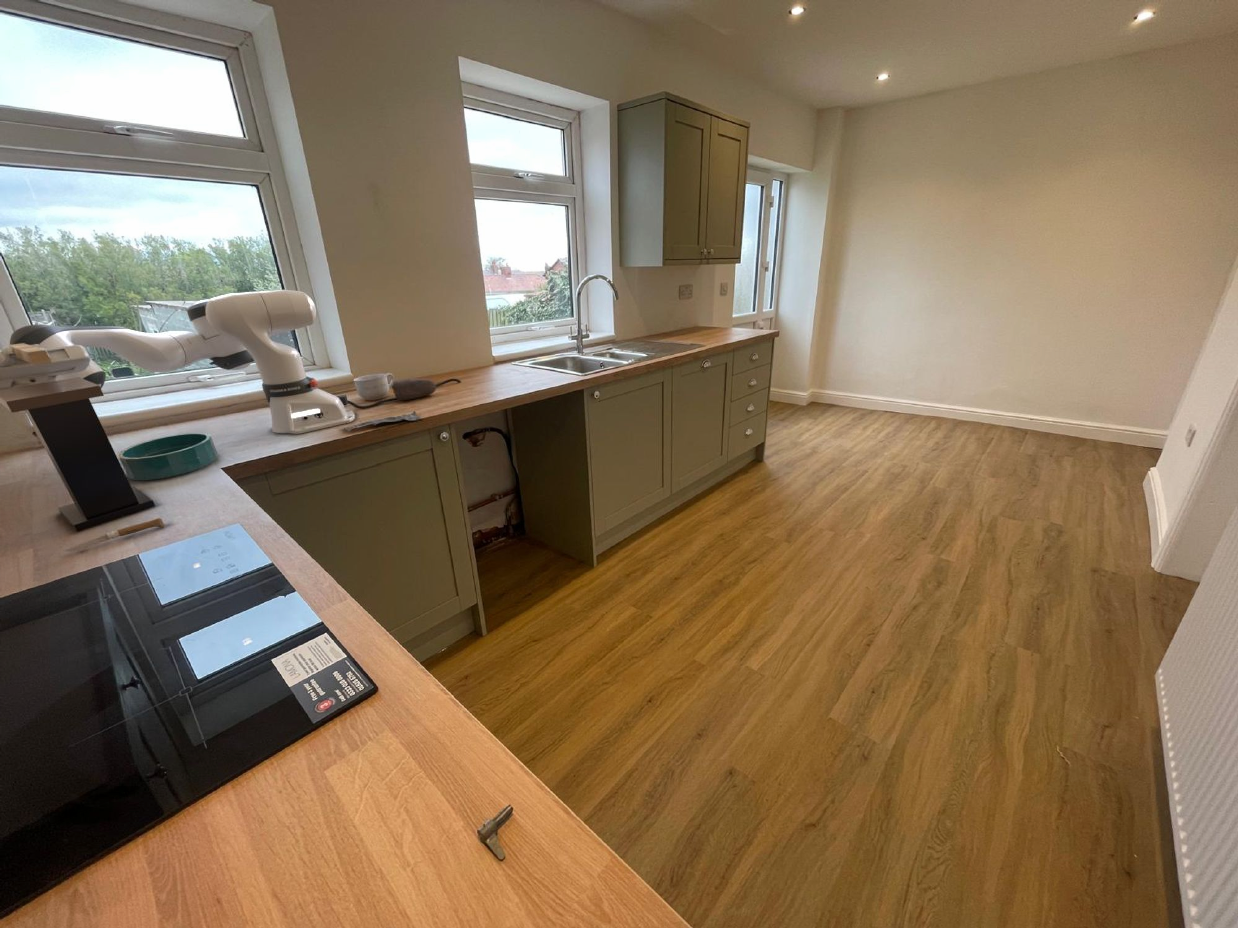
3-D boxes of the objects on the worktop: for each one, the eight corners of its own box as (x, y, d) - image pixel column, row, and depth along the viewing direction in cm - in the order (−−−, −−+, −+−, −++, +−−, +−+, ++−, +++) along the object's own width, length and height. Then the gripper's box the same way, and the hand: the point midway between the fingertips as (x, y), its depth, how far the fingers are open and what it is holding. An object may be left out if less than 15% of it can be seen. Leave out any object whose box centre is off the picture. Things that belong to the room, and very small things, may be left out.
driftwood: (345, 434, 144) (343, 427, 143) (343, 428, 149) (341, 421, 148) (420, 420, 153) (418, 414, 152) (416, 415, 158) (414, 409, 158)
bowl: (222, 449, 137) (214, 428, 134) (213, 470, 123) (204, 447, 120) (139, 464, 129) (129, 442, 126) (119, 488, 115) (107, 464, 112)
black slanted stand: (59, 511, 105) (-8, 391, 95) (132, 489, 114) (78, 377, 104) (77, 531, 96) (5, 401, 86) (155, 506, 105) (99, 385, 95)
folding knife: (66, 557, 88) (60, 548, 87) (66, 554, 89) (61, 545, 88) (165, 527, 97) (161, 518, 96) (164, 524, 98) (160, 516, 97)
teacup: (363, 404, 172) (358, 381, 169) (354, 398, 180) (349, 376, 177) (404, 396, 181) (399, 374, 177) (394, 390, 188) (389, 369, 185)
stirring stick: (13, 356, 107) (7, 345, 106) (29, 354, 109) (24, 343, 108) (34, 365, 96) (27, 352, 95) (51, 362, 97) (45, 350, 96)
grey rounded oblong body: (435, 392, 183) (431, 373, 180) (440, 395, 179) (436, 376, 176) (392, 400, 175) (388, 381, 172) (396, 403, 171) (391, 384, 168)
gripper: (96, 378, 122) (96, 353, 113) (-33, 399, 107) (-45, 373, 98) (82, 355, 122) (81, 328, 112) (-49, 373, 106) (-63, 343, 97)
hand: (21, 349), depth 105 cm, fingers closed on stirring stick, 2 cm apart
